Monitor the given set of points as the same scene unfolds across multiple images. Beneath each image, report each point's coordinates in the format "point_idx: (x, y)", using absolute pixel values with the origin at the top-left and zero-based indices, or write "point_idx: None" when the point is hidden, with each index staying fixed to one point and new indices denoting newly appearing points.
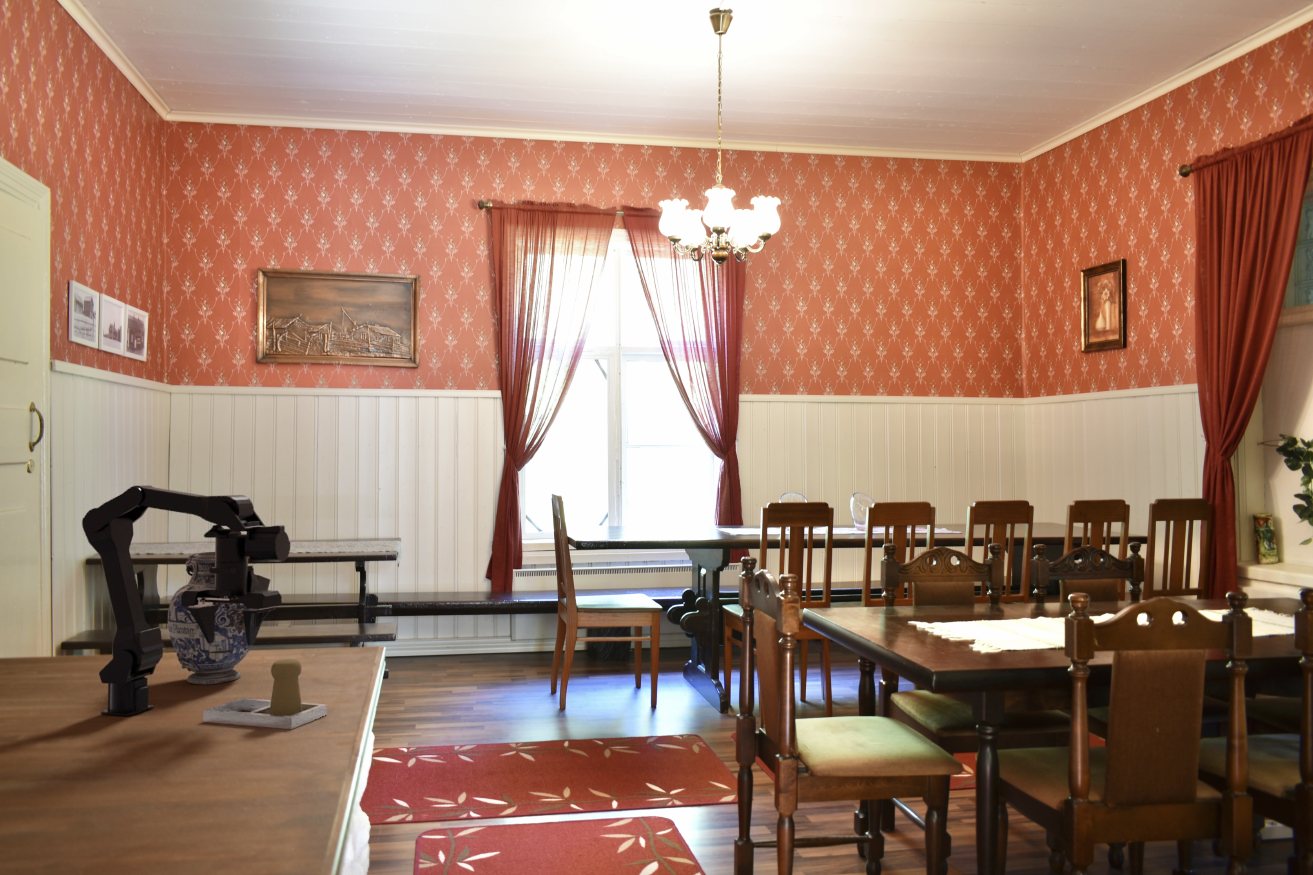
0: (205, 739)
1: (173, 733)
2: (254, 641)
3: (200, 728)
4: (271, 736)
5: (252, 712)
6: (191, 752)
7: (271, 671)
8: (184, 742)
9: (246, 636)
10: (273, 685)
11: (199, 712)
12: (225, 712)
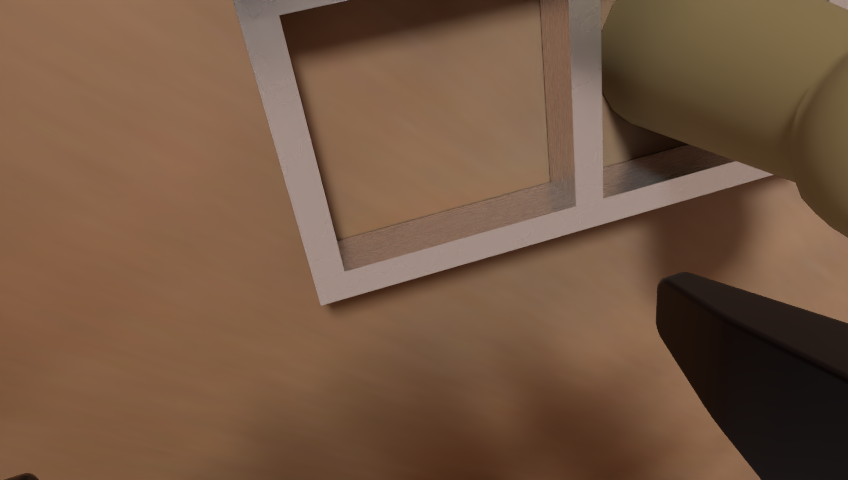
0: (562, 390)
1: (377, 423)
2: (715, 283)
3: (411, 334)
4: (765, 244)
5: (594, 194)
6: (631, 468)
7: (838, 231)
8: (522, 443)
9: (742, 441)
10: (763, 166)
11: (78, 179)
12: (462, 263)
